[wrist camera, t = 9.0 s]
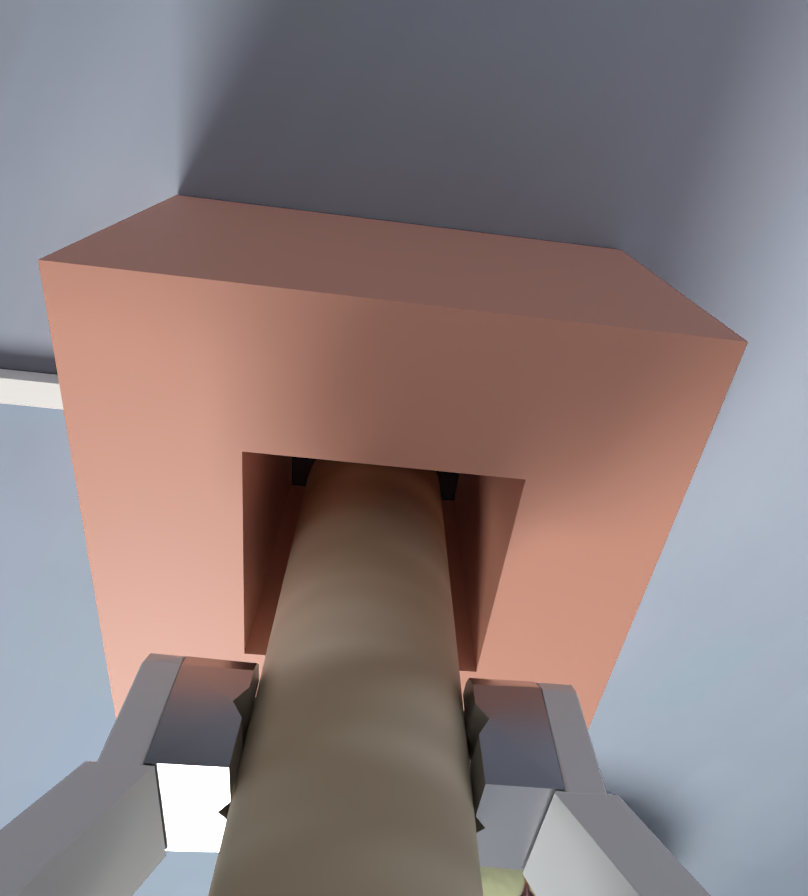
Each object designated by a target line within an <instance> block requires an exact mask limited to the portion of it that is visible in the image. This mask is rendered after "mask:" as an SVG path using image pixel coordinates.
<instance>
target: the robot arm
mask: <svg viewBox="0 0 808 896" xmlns="http://www.w3.org/2000/svg"><path fill="white" fill-rule="evenodd" d="M258 684H259V664H257V663H250V662H240V661H230V660H220V659H210V658H200V657H190V656H177V655H166V654H155V653H150V654H149V655H148V656H147V658H146V659H145V660H144V661H143V662H142V664H141V666H140V668H139V670H138V673H137V675H136V677H135V679H134V681H133V684H132V686H131V688H130V690H129V692H128V695H127V697H126V699H125V701H124V703H123V706H122V708H121V710H120V712H119V715H118V717H117V719H116V721H115V723H114V726H113V728H112V730H111V732H110V734H109V737H108V739H107V741H106V743H105V745H104V748H103V750H102V752H101V754H100V756H99V759H98V761H97V762H91V761H85V762H84V763H83V764H81V765H80V766H79V767H78V768H76V769H75V770H74V771H73V772H71V773H70V774H69V775H68V776H66V777H65V778H64V779H63V780H62V781H60V782H59V783H58V784H57V785H55V786H54V787H53V788H52V789H50V790H49V791H48V792H47V793H45V794H44V795H43V796H42V797H40V798H39V799H38V800H37V801H36V802H34V803H33V804H32V805H31V806H29V807H28V808H27V809H26V810H24V811H23V812H22V813H21V814H19V815H18V816H17V817H16V818H14V819H13V820H12V821H11V822H10V823H8V824H7V825H6V826H5V827H3V828H2V829H1V830H0V896H132V895H133V894H134V893H135V892H136V890H137V889H138V888H139V887H140V886H141V885H142V883H143V882H144V881H145V880H146V879H147V877H148V876H149V875H150V874H151V873H152V871H153V870H154V869H155V868H156V867H157V866H158V864H159V863H160V862H161V861H162V860H163V858H164V857H165V856H166V851H202V852H219V849H220V845H221V841H222V836H223V832H224V828H225V824H226V820H227V815H228V811H229V807H230V803H231V799H232V794H233V790H234V786H235V782H236V778H237V773H238V769H239V765H240V761H241V757H242V752H243V748H244V744H245V740H246V736H247V731H248V727H249V723H250V719H251V715H252V710H253V706H254V702H255V698H256V693H257V688H258ZM463 702H464V719H465V728H466V738H467V747H468V757H469V766H470V776H471V785H472V795H473V804H474V813H475V823H476V832H477V842H478V851H479V861H480V867H491V868H502V869H514V870H524V871H523V875H524V877H525V879H526V880H527V882H528V883H529V885H530V887H531V888H532V890H533V892H534V893H535V895H536V896H711V895H710V894H709V893H708V892H707V891H706V890H705V889H704V888H703V887H702V886H701V885H700V883H699V882H698V881H697V880H696V879H695V878H694V877H693V876H692V875H691V874H690V873H689V872H688V870H687V869H686V868H685V867H684V866H683V865H682V864H681V863H680V862H679V861H678V860H677V859H676V857H675V856H674V855H673V854H672V853H671V852H670V851H669V850H668V849H667V848H666V847H665V846H664V844H663V843H662V842H661V841H660V840H659V839H658V838H657V837H656V836H655V835H654V834H653V833H652V831H651V830H650V829H649V828H648V827H647V826H646V825H645V824H644V823H643V822H642V821H641V819H640V818H639V817H638V816H637V815H636V814H635V813H634V812H633V811H632V810H631V809H630V808H629V806H628V805H627V804H626V803H625V802H624V801H623V800H622V799H621V798H620V797H619V796H618V795H611V794H607V791H606V788H605V785H604V781H603V778H602V775H601V772H600V768H599V765H598V762H597V758H596V755H595V752H594V748H593V745H592V742H591V739H590V735H589V732H588V729H587V725H586V722H585V719H584V715H583V712H582V709H581V706H580V702H579V699H578V696H577V692H576V691H575V689H574V688H573V687H572V685H564V684H550V683H535V682H531V681H515V680H498V679H482V678H469V679H468V680H467V682H466V684H465V688H464V692H463Z"/></svg>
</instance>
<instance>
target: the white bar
mask: <svg viewBox="0 0 808 896" xmlns="http://www.w3.org/2000/svg"><path fill="white" fill-rule="evenodd" d="M0 403H4V404H14V405H24V406H34V407H44V408H54V409H63V403H62V397H61V392H60V386H59V380H58V375H55V374H45V373H36V372H26V371H17V370H7V369H0ZM63 410H64V409H63Z"/></svg>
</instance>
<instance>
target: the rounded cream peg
mask: <svg viewBox="0 0 808 896" xmlns="http://www.w3.org/2000/svg"><path fill="white" fill-rule="evenodd" d="M208 896H483V889H482V880H481V870H480V861H479V851H478V842H477V832H476V823H475V813H474V804H473V795H472V785H471V776H470V766H469V757H468V747H467V738H466V728H465V719H464V709H463V700H462V690H461V681H460V672H459V662H458V653H457V643H456V634H455V624H454V615H453V605H452V596H451V586H450V577H449V568H448V558H447V549H446V539H445V530H444V520H443V511H442V501H441V492H440V483H439V478H438V475H437V472H436V471H434V470H424V469H414V468H404V467H393V466H383V465H373V464H363V463H353V462H343V461H333V460H323V459H316V461H315V462H314V464H313V465H312V468H311V470H310V472H309V476H308V479H307V484H306V488H305V492H304V496H303V500H302V505H301V509H300V513H299V517H298V521H297V526H296V530H295V534H294V538H293V542H292V547H291V551H290V555H289V559H288V563H287V568H286V572H285V576H284V580H283V584H282V589H281V593H280V597H279V601H278V605H277V610H276V614H275V618H274V622H273V626H272V631H271V635H270V639H269V643H268V647H267V652H266V656H265V660H264V664H263V668H262V673H261V677H260V681H259V685H258V689H257V694H256V698H255V702H254V706H253V710H252V715H251V719H250V723H249V727H248V731H247V736H246V740H245V744H244V748H243V752H242V757H241V761H240V765H239V769H238V773H237V778H236V782H235V786H234V790H233V794H232V799H231V803H230V807H229V811H228V815H227V820H226V824H225V828H224V832H223V836H222V841H221V845H220V849H219V853H218V857H217V862H216V866H215V870H214V874H213V878H212V883H211V887H210V891H209V895H208Z"/></svg>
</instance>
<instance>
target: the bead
mask: <svg viewBox="0 0 808 896" xmlns="http://www.w3.org/2000/svg"><path fill="white" fill-rule="evenodd" d="M38 262H39V268H40V274H41V280H42V285H43V291H44V297H45V303H46V309H47V315H48V321H49V327H50V333H51V338H52V344H53V350H54V356H55V362H56V368H57V374H58V380H59V386H60V392H61V397H62V403H63V409H64V415H65V421H66V427H67V433H68V439H69V445H70V451H71V456H72V462H73V468H74V474H75V480H76V486H77V492H78V498H79V504H80V509H81V515H82V521H83V527H84V533H85V539H86V545H87V551H88V557H89V563H90V568H91V574H92V580H93V586H94V592H95V598H96V604H97V610H98V616H99V621H100V627H101V633H102V639H103V645H104V651H105V657H106V663H107V669H108V675H109V680H110V686H111V692H112V698H113V704H114V710H115V716H116V719H117V717H118V715H119V712H120V710H121V708H122V706H123V703H124V701H125V699H126V697H127V695H128V692H129V690H130V688H131V686H132V684H133V681H134V679H135V677H136V675H137V673H138V670H139V668H140V666H141V664H142V662H143V661H144V660H145V659H146V658H147V656H148V655H149V654H150V653H155V654H166V655H177V656H190V657H200V658H210V659H220V660H230V661H240V662H250V663H257V664H259V681H260V677H261V673H262V668H263V664H264V660H265V656H266V652H267V647H268V643H269V639H270V635H271V631H272V626H273V622H274V618H275V614H276V610H277V605H278V601H279V597H280V593H281V589H282V584H283V580H284V576H285V572H286V568H287V563H288V559H289V555H290V551H291V547H292V542H293V538H294V534H295V530H296V526H297V521H298V517H299V513H300V509H301V505H302V500H303V496H304V492H305V488H306V486H296V485H291V475H292V457H302V458H313V459H323V460H333V461H343V462H353V463H363V464H373V465H383V466H393V467H404V468H414V469H424V470H434V471H444V472H454V473H459V478H458V483H457V488H456V494H455V499H454V501H452V500H441V501H442V511H443V520H444V530H445V539H446V549H447V558H448V568H449V577H450V586H451V596H452V605H453V615H454V624H455V634H456V643H457V653H458V662H459V672H460V681H461V690H462V700H463V692H464V688H465V684H466V682H467V680H468V679H469V678H482V679H498V680H515V681H531V682H535V683H550V684H564V685H572V687H573V688H574V689H575V691H576V692H577V696H578V699H579V702H580V706H581V709H582V712H583V715H584V719H585V722H586V725H587V729H588V728H589V726H590V724H591V721H592V719H593V716H594V714H595V712H596V709H597V707H598V704H599V702H600V699H601V697H602V695H603V692H604V690H605V687H606V685H607V682H608V680H609V678H610V675H611V673H612V670H613V668H614V665H615V663H616V661H617V658H618V656H619V653H620V651H621V649H622V646H623V644H624V641H625V639H626V636H627V634H628V632H629V629H630V627H631V624H632V622H633V619H634V617H635V615H636V612H637V610H638V607H639V605H640V602H641V600H642V598H643V595H644V593H645V590H646V588H647V585H648V583H649V581H650V578H651V576H652V573H653V571H654V569H655V566H656V564H657V561H658V559H659V556H660V554H661V552H662V549H663V547H664V544H665V542H666V539H667V537H668V535H669V532H670V530H671V527H672V525H673V522H674V520H675V518H676V515H677V513H678V510H679V508H680V506H681V503H682V501H683V498H684V496H685V493H686V491H687V489H688V486H689V484H690V481H691V479H692V476H693V474H694V472H695V469H696V467H697V464H698V462H699V459H700V457H701V455H702V452H703V450H704V447H705V445H706V443H707V440H708V438H709V435H710V433H711V430H712V428H713V426H714V423H715V421H716V418H717V416H718V413H719V411H720V409H721V406H722V404H723V401H724V399H725V396H726V394H727V392H728V389H729V387H730V384H731V382H732V379H733V377H734V375H735V372H736V370H737V367H738V365H739V363H740V360H741V358H742V355H743V353H744V350H745V348H746V346H747V343H748V342H747V341H746V340H745V339H743V338H742V337H741V336H739V335H738V334H736V333H735V332H734V331H732V330H731V329H730V328H728V327H727V326H725V325H724V324H723V323H721V322H720V321H719V320H717V319H716V318H714V317H713V316H712V315H710V314H709V313H707V312H706V311H705V310H703V309H702V308H701V307H699V306H698V305H696V304H695V303H694V302H692V301H691V300H690V299H688V298H687V297H685V296H684V295H683V294H681V293H680V292H679V291H677V290H676V289H674V288H673V287H672V286H670V285H669V284H668V283H666V282H665V281H663V280H662V279H661V278H659V277H658V276H657V275H655V274H654V273H652V272H651V271H650V270H648V269H647V268H645V267H644V266H643V265H641V264H640V263H639V262H637V261H636V260H634V259H633V258H632V257H630V256H629V255H628V254H626V253H625V252H623V251H622V250H618V249H610V248H602V247H594V246H585V245H577V244H569V243H561V242H553V241H545V240H537V239H529V238H521V237H513V236H505V235H496V234H488V233H480V232H472V231H464V230H456V229H448V228H440V227H432V226H424V225H416V224H407V223H399V222H391V221H383V220H375V219H367V218H359V217H351V216H343V215H335V214H327V213H318V212H310V211H302V210H294V209H286V208H278V207H270V206H262V205H254V204H246V203H238V202H229V201H221V200H213V199H205V198H197V197H189V196H181V195H176V196H173V197H171V198H169V199H167V200H165V201H163V202H161V203H158V204H156V205H154V206H152V207H150V208H148V209H146V210H143V211H141V212H139V213H137V214H135V215H133V216H131V217H129V218H126V219H124V220H122V221H120V222H118V223H116V224H114V225H111V226H109V227H107V228H105V229H103V230H101V231H99V232H97V233H94V234H92V235H90V236H88V237H86V238H84V239H82V240H79V241H77V242H75V243H73V244H71V245H69V246H67V247H64V248H62V249H60V250H58V251H56V252H54V253H52V254H50V255H47V256H45V257H43V258H41V259H39V260H38ZM258 685H259V684H258ZM257 689H258V688H257ZM256 694H257V693H256ZM463 709H464V702H463Z"/></svg>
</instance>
